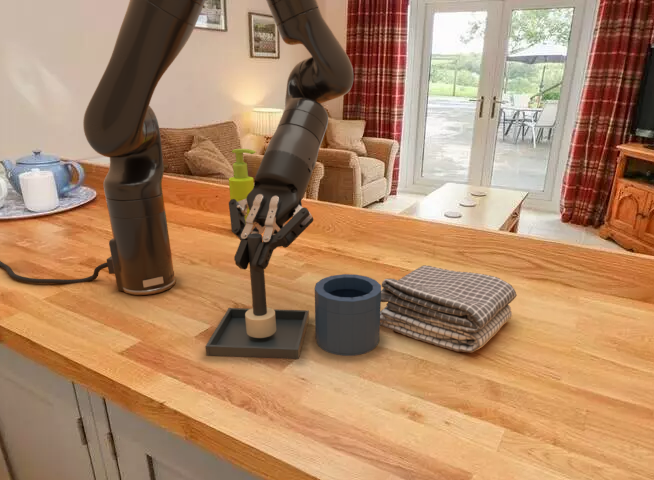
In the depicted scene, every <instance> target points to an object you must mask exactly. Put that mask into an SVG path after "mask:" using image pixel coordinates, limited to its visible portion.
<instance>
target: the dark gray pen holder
mask: <svg viewBox="0 0 654 480" xmlns="http://www.w3.org/2000/svg"><path fill="white" fill-rule="evenodd" d="M381 291H382V284H380V282H378V281H377V280H376V279H374V278H371V277H369V276H366V275H361V274H353V273H352V274H349V273H348V274H347V273H344V274H343V273H342V274H333V275H330V276H326V277H323V278H321V279H320V280H318V281H317V282H316V283H315V286H314V327H315V329H314V331H315V343H316V344H317V346H318V347H319V348H320V349H321V350H323V351H325V352H326V353H328V354H331V355H334V356H335V355H336V356H341V357H342V356H343V357H353V356H354V357H355V356H360V355H364V354H367V353H370V352H371V351H373V350H374V349H376V347H378V345H379V343H380V329H381V326H380V311H381V307H382V305H381V304H382V302H381Z"/></svg>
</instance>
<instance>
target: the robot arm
mask: <svg viewBox="0 0 654 480" xmlns="http://www.w3.org/2000/svg"><path fill="white" fill-rule="evenodd" d="M205 3H206V0H129V1H128V5H127V8H126V11H125V14H124V16H123V19H122V22H121V25H120V27H119V30H118V33H117V37H116V40H115V43H114V46H113V49H112V52H111V55H110V58H109V61H108V63H107V66H106V67H105V70H104V72H103V74H102V76H101V78H100V80H99V82H98V84H97V86H96V88H95V90H94V92H93V94H92V95H91V98H90V100H89V101H88V103H87V106H86V109H85V111H84V115H83V121H82V126H83V132H84V136H85V139H86V141H87V143H88V145H89V146H90V147H91V148H92V150H94V151H95V152H96V153H97V154H99V155H101V156H102V157H106V158H109V167H108V171H107V174H106V176H105V177H104V180H103V192H104V196H105V202H106V208H107V212H108V219H109V223H110V227H111V233H112V238H111V239H110V240H109V241H108V246H109V250H110V256H109V257H108V258H107V259H106V262H104V263H101V264H98V265H97V266H96V267H95V268H94V269H93V274H92V275H90V276H87V277H84V278H76V279H74V278H73V279H63V278H61V279H60V278H34V277H26V276H23V275H20V274H16V273H15V272H14V270H13V269H12V268H11V267H10V266H9V265H8V264H6V263H5V262H3V261H1V260H0V267H1V268H2V269H4V270H5V271H6V272H7V274H8V275H9V277H11V278H12V279H14V280H16V281H20V282H23V283H29V284H30V283H31V284H44V285H45V284H49V285H50V284H54V285H70V284H81V283H89V282H92V281H95V280H96V279H98V277H99V275H100V271H102V270H104V269H106V268H107V269H108V274H109V275H114V278H115V283H116V287H117V291H118V292H124V293H126V294H128V295H132V296H133V295H134V296H149V295H154V294H155V295H156V294H159V293H162V292H165V291H167V290H170V289H171V288H173V287H174V286H176V285H175V284H176V282H177V280H176V276H175V270H174V263H173V256H172V249H171V241H170V234H169V227H168V219H167V214H166V207H165V200H164V194H163V193H164V192H163V191H164V190H163V179H164V172H165V170H164V157H163V147H162V136H161V131H160V124H159V121H158V119H157V115H156V113H155V112H154V110H153V108H152V107H151V106H150V104H151V101H152V98H153V95H154V93H155V91H156V88H157V86H158V84H159V82H160V80H161V79H162V77H163V76H164V74H165V73H166V72H167V70H168V69H169V68H170V67H171V65H172V64H173V62H175V60H176V58H177V57H178V56H179V54H180V53H181V52H182V50H183V49H184V48H185V46H186V44H187V42H188V41H189V39H190V38H191V35H192V33H193V31H194V30H195V27H196V24H197V22H198V20H199V17H200V15H201V12H202V10H203V8H204V5H205ZM266 3H267V6H268V9H269V11H270V14H271V16H272V19H273V21H274V23H275V27H276V29H277V31H278V33H279V35H280V38H281V39H282V42H284V43H285V44H286V45H289V46H294V45H295V46H296V45H302V46H304V48H305V49H306V51H308V53H309V54H310V57H308V58H306V59H303V60H300V61H299V62H298V63H296V64H295V65H294V66H293V68H292V69H291V71H290V74H289V75H288V78H287V82H286V91H285V92H286V93H285V98H284V111H283V112H282V115H281V117H280V119H279V121H278V122H279V123H278V124H277V127H276V130H275V131H274V132H273V134H272V136H271V138H270V140H269V142H268V145H267V147H266V149H265V152H264V154H263V157H262V159H261V162H260V164H259V166H258V169H257V171H256V174H255V177H254V188H253V190H252V191H251V192H250V193H249V194H248V195H247V198H246V199H244V200H241V201H238V202H237V201H236V200H235V199H231V200H230V199H229V201H228V207H229V208H228V209H229V218H230V219H229V220H230V226H231V232H232V233H233V234H234V235H235V236H236V238H238V240H240V241H239V243H238V246H237V249H236V251H235V254H234V257H233V259H234V262H235V265H236V267H238V268H239V269H240V270H244V271H246V270H247V269H248V267H249V252H248V239H247V236H248V235H249V234H254V233H257V234H261V235H262V242H260V243H259V245H258V248H257V251H256V253H255V256H254V259H253V261H252V264H251V266H252V268H253V269H254V270H255V271H256V272H262V271H263V269H264V270H266V269H267V268H268V266H269V263H270V261H271V258H272V255H273V252H274V250H276V249H277V248H279V247H282V248H285V249H286V248H288V247H290V245H291V244H293V242H295V241H296V239H297V238H298V237H300V235H301V234H302V233H303V232H304V231H305V230H306V229H308V227H309V226H311V224H312V223H313V222H314V217H313V215H312V213H311V212H310V210H309V209H308V208H307V207H303V204H302V200H303V199H304V197H305V194H306V191H307V188H308V187H309V186H308V185H309V183H310V180H311V178H312V176H313V172H314V169H315V167H316V164H317V160H318V158H319V157H318V156H319V151H320V148H321V146H322V142H323V140H324V136H325V135H326V134H325V133H326V132H327V128H328V124H329V115H328V112H327V110H326V108H325V107H324V106H323V105H322V104H323V103H326V102H330V101H332V100H335V99H338V98H341V97H343V96H345V95H347V94H348V93H349V92H350V91H351V89H352V87H353V84H354V68H353V65H352V62H351V60H350V57H349V56H348V54H347V52H346V50H345V49H344V47H343V46H342V45H341V43H340V42H339V39H337V37H336V36H335V34H334V32H333V31H332V29H331V28H330V26H329V25H328V24H327V22H326V20H325V19H324V17H323V15H322V12H321V9H320V7H319V4H318V1H317V0H266ZM248 208H249V210H250V212H249V214H248V216H247V218H246V223H245V216H246V215H247V209H248Z"/></svg>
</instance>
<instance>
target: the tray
mask: <svg viewBox="0 0 654 480" xmlns="http://www.w3.org/2000/svg"><path fill="white" fill-rule="evenodd" d="M249 309H250V308H246V307H245V308H244V307H243V308H242V307H228V309H227V310H226V311H225V314H224V315H223V316H222V318H221V320H220V322H219V323H218V325H217V326H216V328H215V330H214V331H213V333H212V335H211V336H210V338H209V340H208V341H207V342H206V344H205V354H206V356H207V357H228V358H230V357H231V358H233V357H234V358H256V359H257V358H259V359H285V360H287V359H288V360H299V359H300V355H301V351H302V348H303V343H304V340H305V336H306V332H307V328H308V324H309V320H310V310H307V309H280V308H279V309H278V308H277V309H276V308H273V309H274V311H275V317H276V332H275V333H274V334H273V335H271V336H269V337H265V338H254V337H251V336H249V335H248V334H247V331H246V320H245V313H246V312H247V311H248V310H249Z"/></svg>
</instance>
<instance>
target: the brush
mask: <svg viewBox="0 0 654 480" xmlns="http://www.w3.org/2000/svg"><path fill="white" fill-rule="evenodd" d="M262 238H263V234H257V233H254V234H249V235H248V236H247V239H248V252H249V264H248V266H249V275H250V287H251V289H250V291H251V300H252V302H251V303H252V308H248V309H249V310H248V311H247V312H246V313H245V320H246V331H247V334H248V335H249V336H251V337H254V338H265V337H269V336H271V335H273V334H274V333H275V332H276V317H275V311H274V309H275V308H272V307H269V306H267V304H268V303H267V291H266V289H267V288H266V277H265V276H266V275H265V269H263V271H262V272H256V271H255V270H254V269H253V268H252V266H251V264H252V261H253V259H254V256H255V253H256V251H257V248H258V245H259V243H260V242H262V243H263V240H262Z"/></svg>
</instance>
